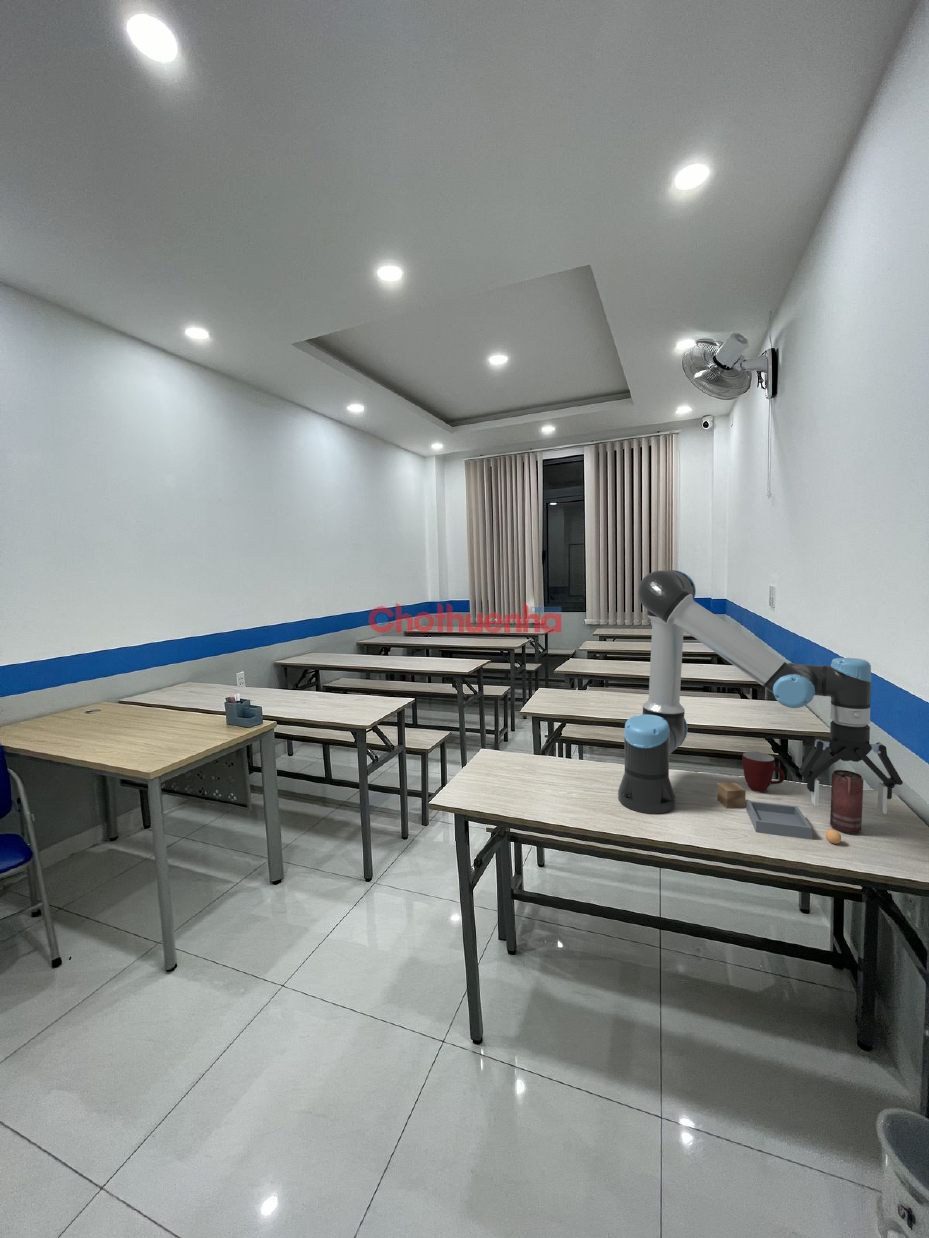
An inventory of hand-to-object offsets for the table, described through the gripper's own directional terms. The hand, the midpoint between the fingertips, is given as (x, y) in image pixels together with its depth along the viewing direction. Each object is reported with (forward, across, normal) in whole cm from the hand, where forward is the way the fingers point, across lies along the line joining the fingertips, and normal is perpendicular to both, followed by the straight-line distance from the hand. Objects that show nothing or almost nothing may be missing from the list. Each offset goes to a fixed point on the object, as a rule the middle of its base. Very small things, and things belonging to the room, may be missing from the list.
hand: (847, 807), depth 120 cm
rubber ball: (+4, -5, -8) cm, 10 cm away
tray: (+5, -15, -2) cm, 16 cm away
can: (+6, 0, 0) cm, 6 cm away
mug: (+6, -14, +19) cm, 24 cm away
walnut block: (+5, -24, +7) cm, 26 cm away
